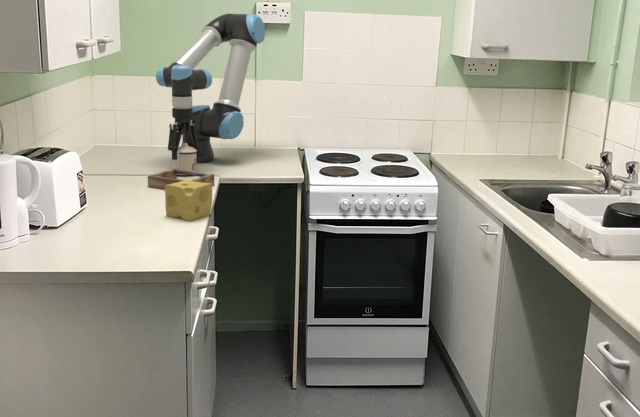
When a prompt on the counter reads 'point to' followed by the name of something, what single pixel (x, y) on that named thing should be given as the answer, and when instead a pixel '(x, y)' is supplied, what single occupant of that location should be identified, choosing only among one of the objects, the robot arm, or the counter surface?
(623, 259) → the counter surface
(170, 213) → the cheese
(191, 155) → the teacup with lid
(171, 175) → the wooden tray
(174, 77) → the robot arm
